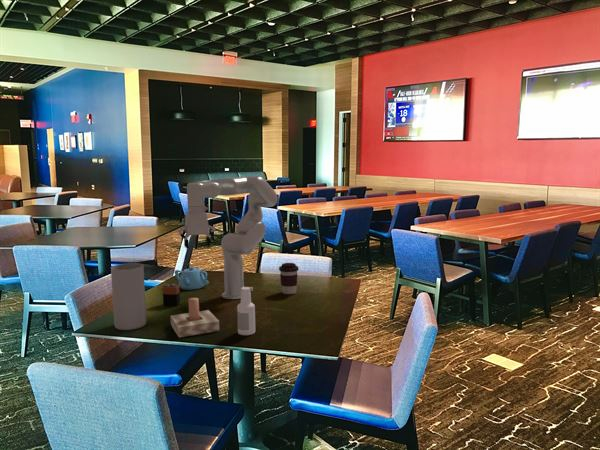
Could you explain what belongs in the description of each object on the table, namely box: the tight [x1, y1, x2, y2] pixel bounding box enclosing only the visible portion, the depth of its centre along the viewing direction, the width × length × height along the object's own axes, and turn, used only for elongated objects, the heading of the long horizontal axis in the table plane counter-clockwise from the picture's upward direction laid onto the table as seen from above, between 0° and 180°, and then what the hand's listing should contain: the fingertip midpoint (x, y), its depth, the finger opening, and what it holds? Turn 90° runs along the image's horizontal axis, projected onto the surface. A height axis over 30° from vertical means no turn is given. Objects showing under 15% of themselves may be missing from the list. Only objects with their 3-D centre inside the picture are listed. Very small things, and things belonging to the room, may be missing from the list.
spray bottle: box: [236, 286, 256, 336], centre depth 186 cm, size 7×7×18 cm
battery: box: [162, 283, 181, 307], centre depth 225 cm, size 4×7×10 cm, turn 82°
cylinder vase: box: [110, 262, 147, 331], centre depth 195 cm, size 12×12×25 cm
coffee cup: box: [278, 262, 299, 295], centre depth 243 cm, size 10×10×15 cm
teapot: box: [174, 265, 210, 291], centre depth 257 cm, size 15×17×11 cm
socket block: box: [170, 309, 220, 338], centre depth 193 cm, size 16×16×4 cm
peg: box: [187, 297, 200, 321], centre depth 193 cm, size 4×4×12 cm
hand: (197, 247), depth 218 cm, fingers open, 9 cm apart
